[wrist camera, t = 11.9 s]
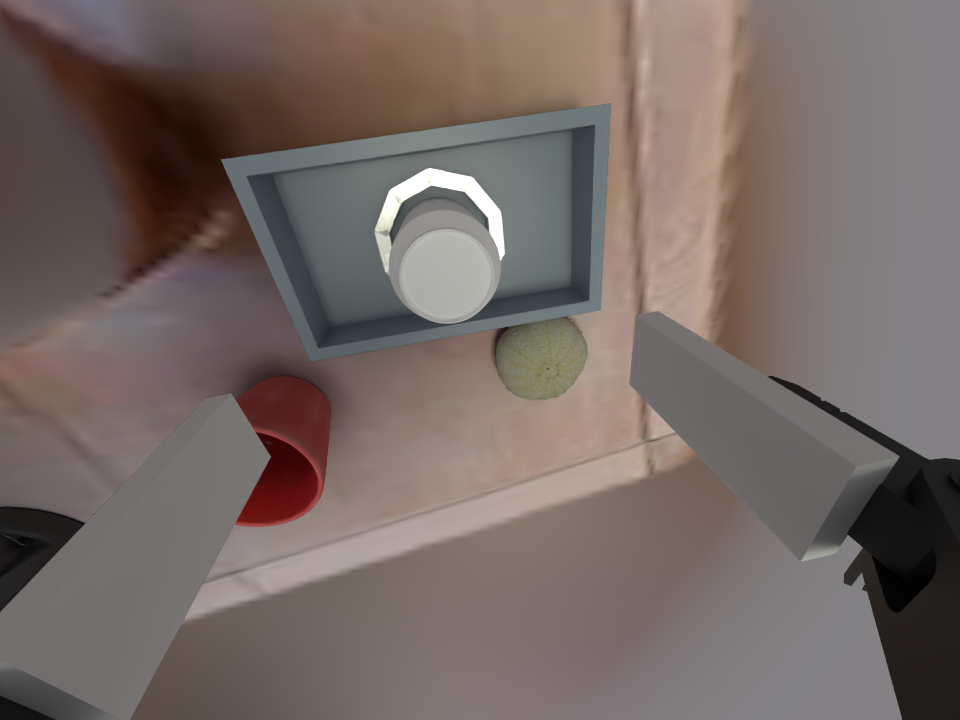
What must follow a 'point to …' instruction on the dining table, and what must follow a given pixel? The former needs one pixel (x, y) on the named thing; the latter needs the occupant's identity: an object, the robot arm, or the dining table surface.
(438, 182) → the inlet ring
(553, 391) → the sea urchin shell
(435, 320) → the beverage can
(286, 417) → the flower pot
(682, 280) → the dining table surface
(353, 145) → the walled box
